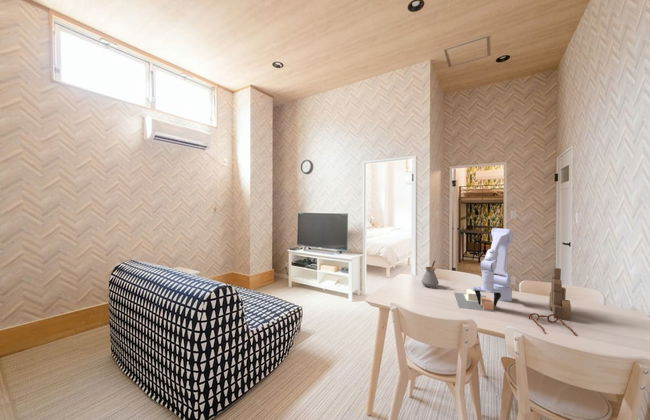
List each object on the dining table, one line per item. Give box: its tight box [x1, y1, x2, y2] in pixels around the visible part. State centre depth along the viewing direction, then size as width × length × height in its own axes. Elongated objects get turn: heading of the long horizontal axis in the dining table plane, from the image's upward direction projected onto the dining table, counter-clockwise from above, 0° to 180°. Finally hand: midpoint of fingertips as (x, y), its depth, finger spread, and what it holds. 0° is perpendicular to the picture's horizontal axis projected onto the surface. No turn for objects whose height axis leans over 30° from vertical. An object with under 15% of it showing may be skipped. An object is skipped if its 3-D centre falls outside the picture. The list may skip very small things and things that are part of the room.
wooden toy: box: [548, 267, 572, 321], centre depth 141 cm, size 16×7×25 cm, turn 148°
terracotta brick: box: [481, 296, 495, 310], centre depth 149 cm, size 4×8×4 cm, turn 160°
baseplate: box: [453, 292, 496, 313], centre depth 157 cm, size 18×24×1 cm
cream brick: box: [465, 288, 477, 301], centre depth 162 cm, size 4×8×4 cm, turn 159°
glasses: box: [528, 312, 577, 337], centre depth 127 cm, size 13×13×5 cm
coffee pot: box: [421, 259, 440, 288], centre depth 190 cm, size 21×12×15 cm, turn 146°
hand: (487, 304), depth 149 cm, fingers open, 7 cm apart
